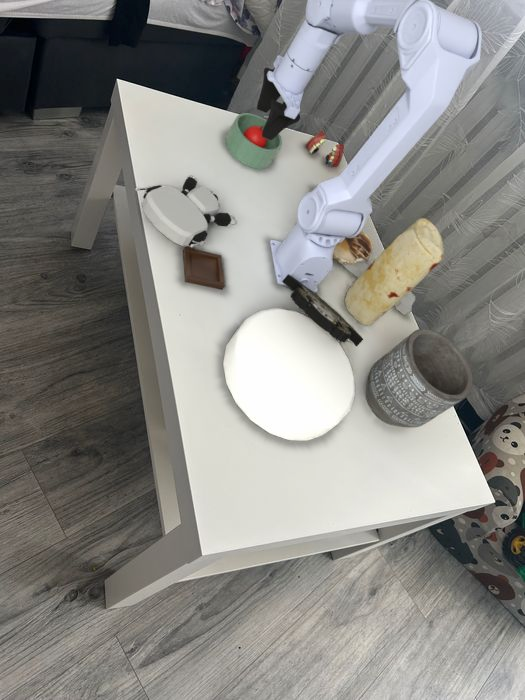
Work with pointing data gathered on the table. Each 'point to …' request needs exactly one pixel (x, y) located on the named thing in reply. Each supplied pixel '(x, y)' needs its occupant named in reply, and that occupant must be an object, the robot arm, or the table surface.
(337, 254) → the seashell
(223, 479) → the table surface
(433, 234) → the food model
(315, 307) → the emblem
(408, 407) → the planter
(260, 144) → the apple
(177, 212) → the robot toy
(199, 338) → the table surface
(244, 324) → the container
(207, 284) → the coaster
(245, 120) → the bowl
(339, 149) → the dentures model
